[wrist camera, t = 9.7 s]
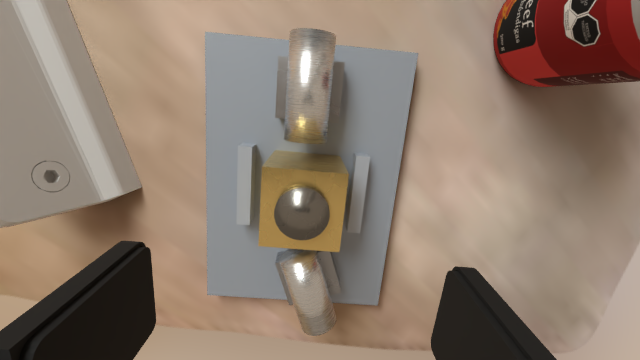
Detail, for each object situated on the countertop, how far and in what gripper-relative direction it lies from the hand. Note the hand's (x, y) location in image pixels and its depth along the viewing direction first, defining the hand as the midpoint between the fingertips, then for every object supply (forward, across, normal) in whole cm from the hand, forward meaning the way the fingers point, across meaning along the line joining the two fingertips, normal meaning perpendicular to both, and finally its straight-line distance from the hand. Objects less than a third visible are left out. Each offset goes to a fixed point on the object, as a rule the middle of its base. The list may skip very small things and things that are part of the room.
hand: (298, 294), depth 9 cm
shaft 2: (+16, 0, +8) cm, 18 cm away
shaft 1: (+16, +1, -6) cm, 17 cm away
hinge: (+16, +20, -4) cm, 26 cm away
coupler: (+14, 0, +1) cm, 14 cm away
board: (+16, +1, +1) cm, 16 cm away
